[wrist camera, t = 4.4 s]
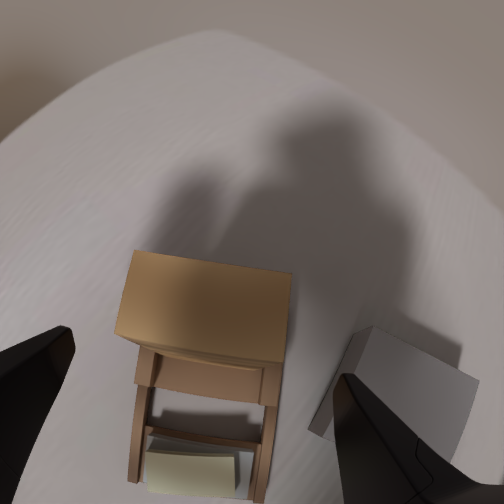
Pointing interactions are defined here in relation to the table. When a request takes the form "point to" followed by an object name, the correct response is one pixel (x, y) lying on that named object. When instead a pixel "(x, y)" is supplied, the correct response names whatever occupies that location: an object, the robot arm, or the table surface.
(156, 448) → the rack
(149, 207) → the table surface
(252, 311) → the oak block
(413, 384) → the plinth
